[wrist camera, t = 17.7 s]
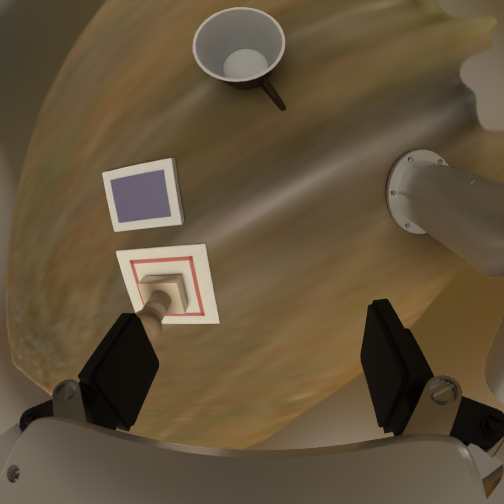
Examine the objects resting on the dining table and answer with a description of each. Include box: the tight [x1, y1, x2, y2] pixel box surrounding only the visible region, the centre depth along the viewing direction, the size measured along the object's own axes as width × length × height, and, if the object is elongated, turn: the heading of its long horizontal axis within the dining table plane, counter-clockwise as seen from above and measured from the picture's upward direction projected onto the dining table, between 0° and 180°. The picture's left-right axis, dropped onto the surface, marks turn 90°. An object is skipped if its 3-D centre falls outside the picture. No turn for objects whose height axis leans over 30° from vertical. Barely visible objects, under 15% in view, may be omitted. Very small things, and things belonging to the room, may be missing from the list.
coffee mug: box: [193, 7, 286, 111], centre depth 24 cm, size 12×9×10 cm
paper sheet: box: [116, 243, 220, 324], centre depth 41 cm, size 15×14×1 cm
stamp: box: [135, 274, 188, 342], centre depth 36 cm, size 6×5×12 cm
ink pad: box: [102, 157, 184, 232], centre depth 35 cm, size 11×9×2 cm
